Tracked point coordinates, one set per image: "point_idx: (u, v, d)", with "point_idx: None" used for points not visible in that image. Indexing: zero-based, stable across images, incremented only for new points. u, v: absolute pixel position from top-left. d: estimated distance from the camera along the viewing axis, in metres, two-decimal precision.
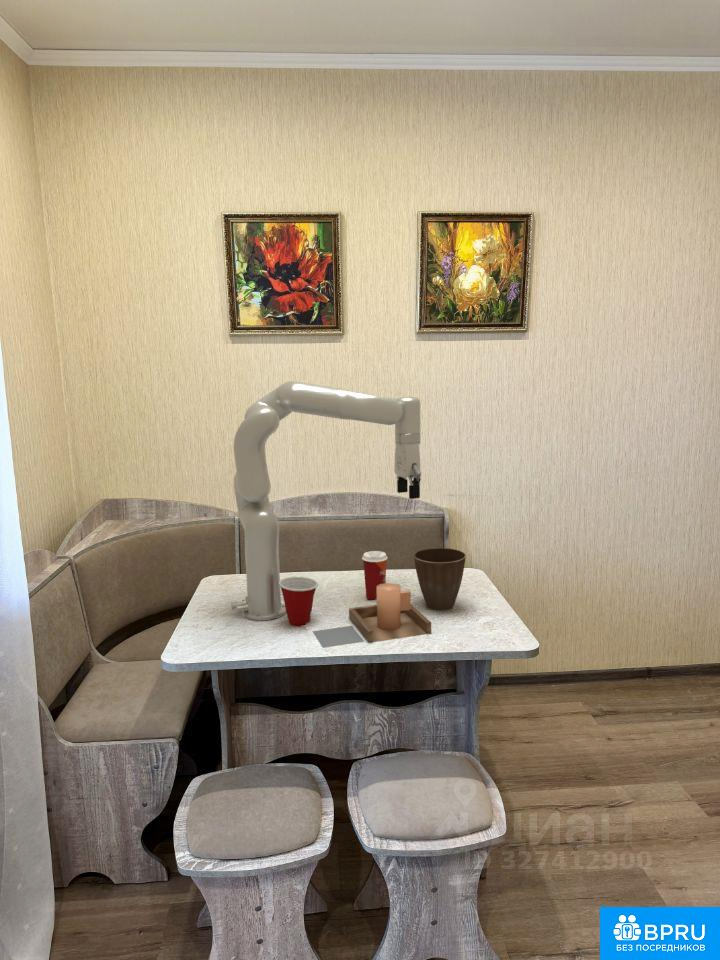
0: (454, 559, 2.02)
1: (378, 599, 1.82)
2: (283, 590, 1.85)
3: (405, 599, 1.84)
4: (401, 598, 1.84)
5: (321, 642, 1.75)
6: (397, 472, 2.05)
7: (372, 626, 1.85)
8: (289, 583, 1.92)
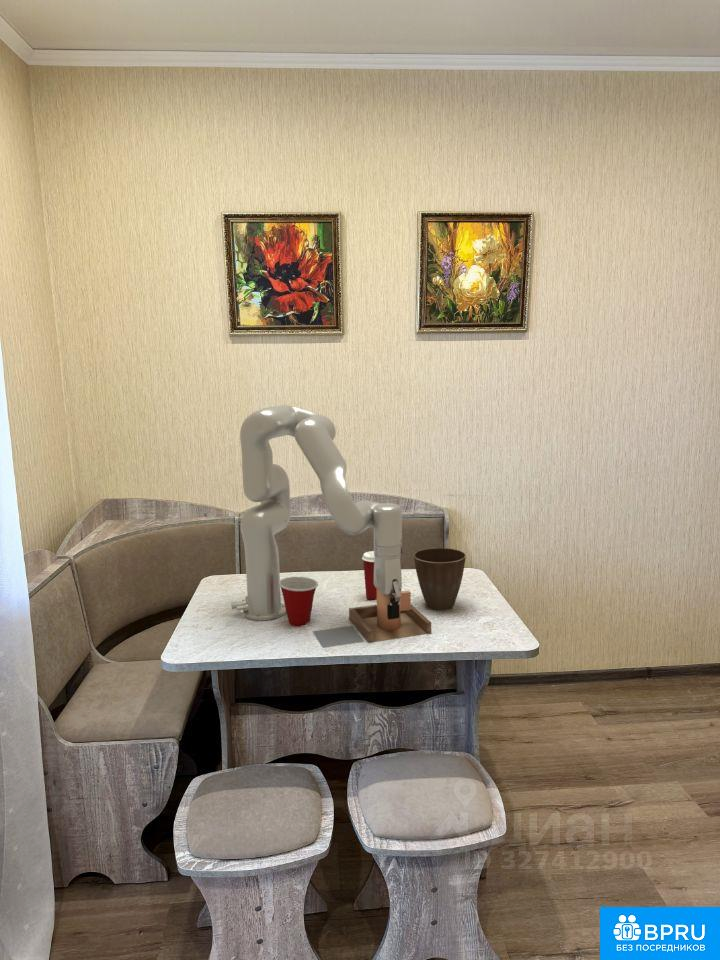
0: (454, 559, 2.02)
1: (378, 599, 1.82)
2: (283, 590, 1.85)
3: (405, 599, 1.84)
4: (401, 598, 1.84)
5: (321, 642, 1.75)
6: (376, 585, 1.84)
7: (372, 626, 1.85)
8: (289, 583, 1.92)
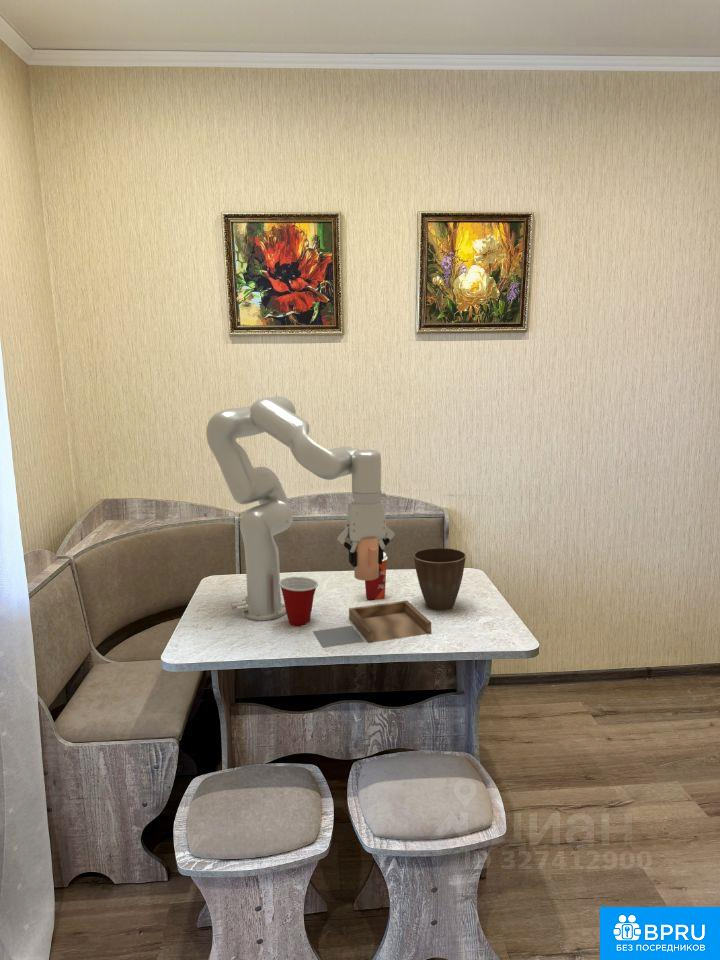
0: (454, 559, 2.02)
1: None
2: (283, 590, 1.85)
3: (369, 555, 1.74)
4: (368, 552, 1.75)
5: (321, 642, 1.75)
6: None
7: (372, 626, 1.85)
8: (289, 583, 1.92)
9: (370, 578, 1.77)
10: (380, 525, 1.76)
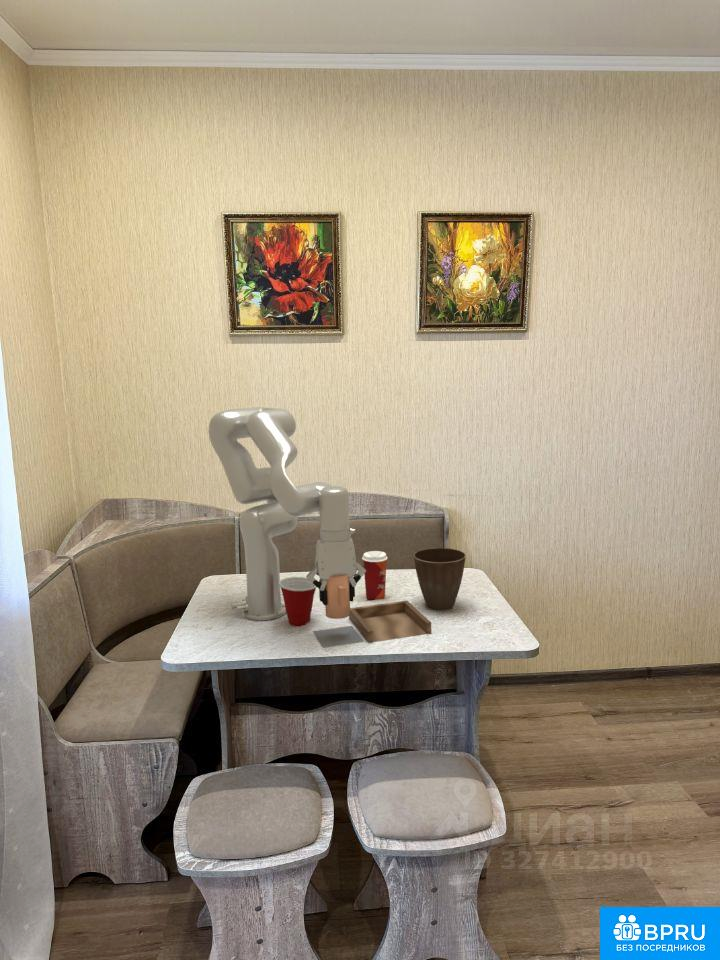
0: (454, 559, 2.02)
1: None
2: (283, 590, 1.85)
3: (339, 594, 1.72)
4: (337, 591, 1.73)
5: (321, 642, 1.75)
6: None
7: (372, 626, 1.85)
8: (289, 583, 1.92)
9: (341, 616, 1.74)
10: (350, 562, 1.74)
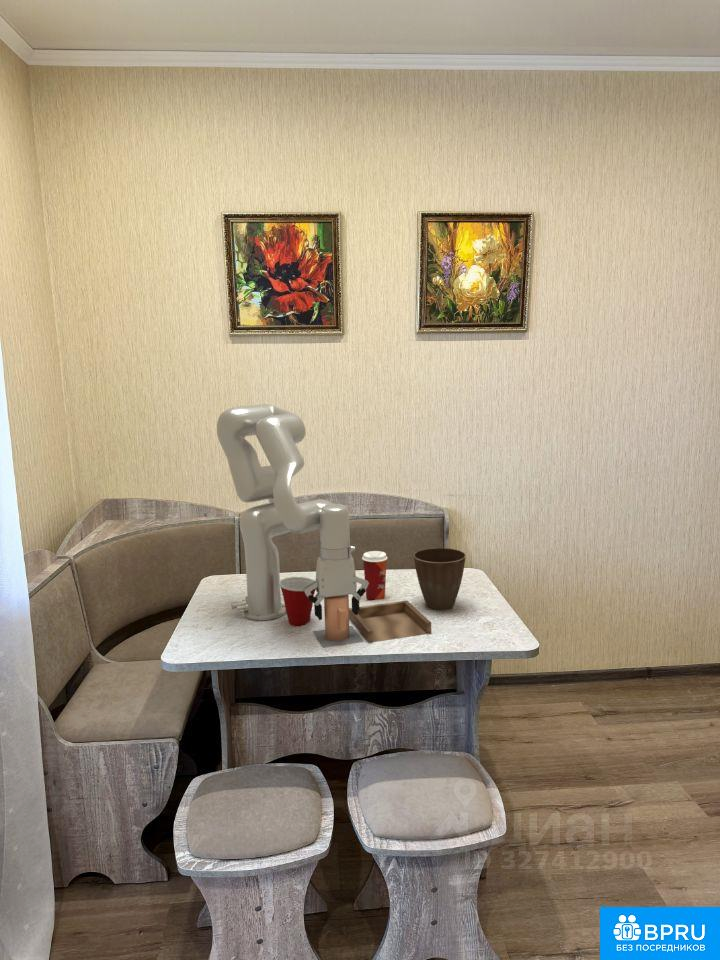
0: (454, 559, 2.02)
1: None
2: (283, 590, 1.85)
3: (338, 617, 1.73)
4: (337, 613, 1.74)
5: (321, 642, 1.75)
6: None
7: (372, 626, 1.85)
8: (289, 583, 1.92)
9: (340, 639, 1.76)
10: (350, 580, 1.75)
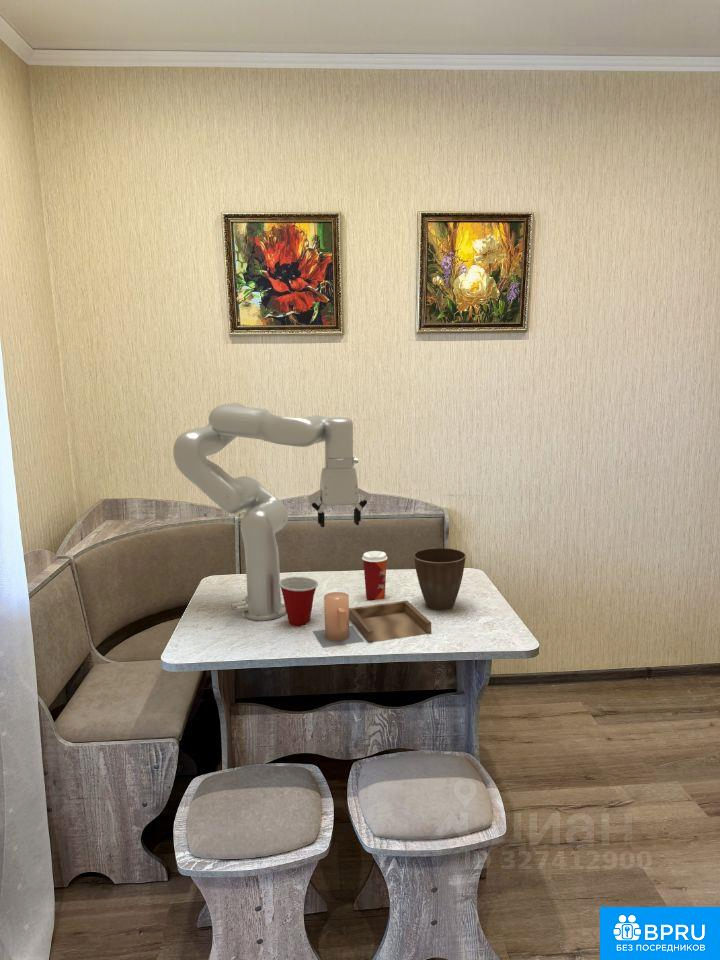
0: (454, 559, 2.02)
1: None
2: (283, 590, 1.85)
3: (338, 617, 1.73)
4: (337, 613, 1.74)
5: (321, 642, 1.75)
6: None
7: (372, 626, 1.85)
8: (289, 583, 1.92)
9: (340, 639, 1.76)
10: (352, 490, 1.84)
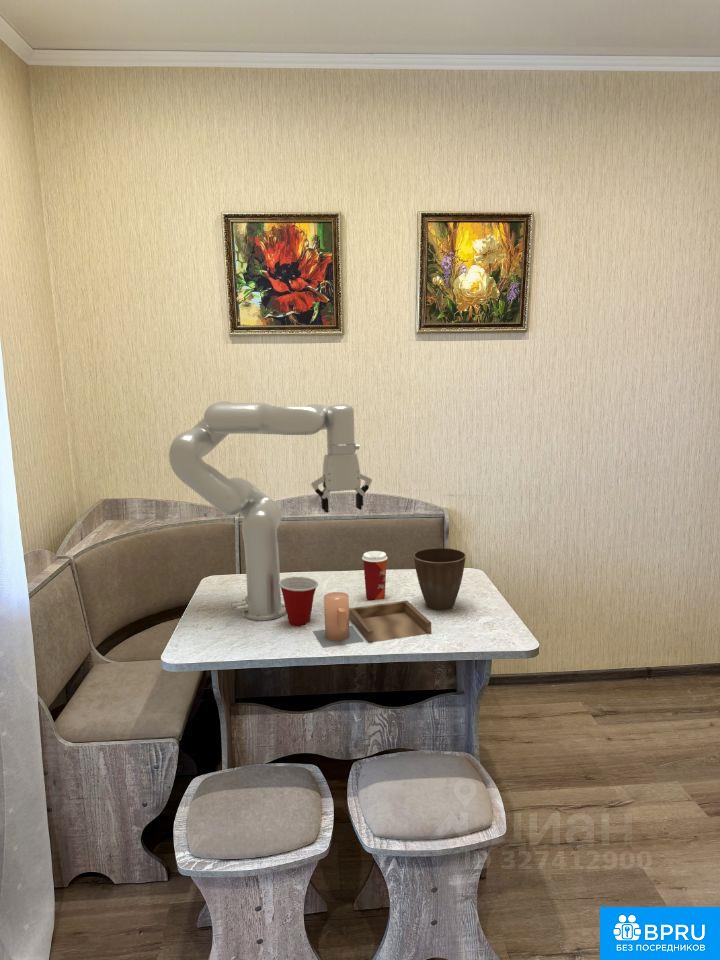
0: (454, 559, 2.02)
1: None
2: (283, 590, 1.85)
3: (338, 617, 1.73)
4: (337, 613, 1.74)
5: (321, 642, 1.75)
6: None
7: (372, 626, 1.85)
8: (289, 583, 1.92)
9: (340, 639, 1.76)
10: (354, 475, 1.88)
